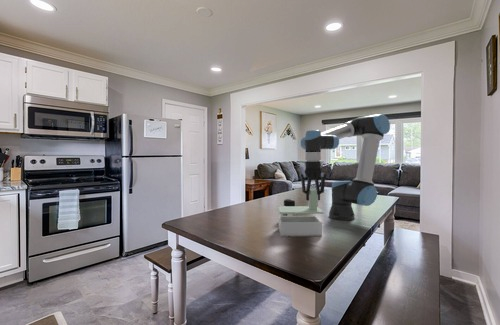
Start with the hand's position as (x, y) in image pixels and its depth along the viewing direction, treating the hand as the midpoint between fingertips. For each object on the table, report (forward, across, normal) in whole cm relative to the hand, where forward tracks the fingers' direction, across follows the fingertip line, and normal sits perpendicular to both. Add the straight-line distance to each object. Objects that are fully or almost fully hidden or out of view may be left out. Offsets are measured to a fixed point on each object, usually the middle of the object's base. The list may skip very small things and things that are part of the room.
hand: (313, 206), depth 125 cm
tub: (+13, +7, 0) cm, 15 cm away
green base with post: (+2, +7, 0) cm, 7 cm away
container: (+14, +9, -21) cm, 27 cm away
